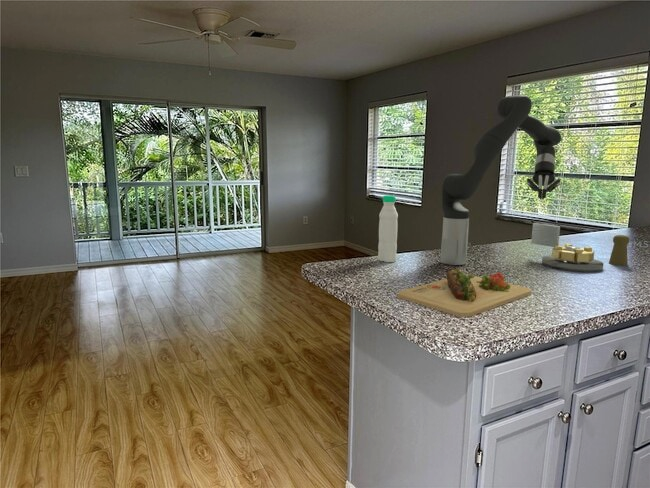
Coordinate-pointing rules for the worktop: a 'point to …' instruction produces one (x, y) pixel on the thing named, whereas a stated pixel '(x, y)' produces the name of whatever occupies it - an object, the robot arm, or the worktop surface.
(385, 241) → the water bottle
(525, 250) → the worktop surface
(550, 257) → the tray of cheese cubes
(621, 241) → the cork
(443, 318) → the worktop surface
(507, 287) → the cutting board
